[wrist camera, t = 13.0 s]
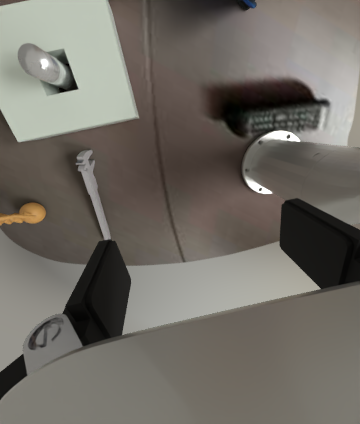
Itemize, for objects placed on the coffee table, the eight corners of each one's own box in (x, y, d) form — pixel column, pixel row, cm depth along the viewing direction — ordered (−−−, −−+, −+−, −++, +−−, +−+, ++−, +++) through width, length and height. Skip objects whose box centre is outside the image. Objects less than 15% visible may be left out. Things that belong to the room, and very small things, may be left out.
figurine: (22, 220, 38) (-33, 257, 27) (7, 192, 35) (-60, 221, 24) (63, 215, 38) (26, 250, 27) (52, 187, 36) (6, 213, 25)
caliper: (86, 149, 34) (72, 154, 28) (92, 149, 34) (79, 153, 28) (107, 242, 42) (99, 260, 37) (112, 242, 43) (105, 259, 37)
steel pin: (77, 67, 29) (39, 40, 20) (85, 90, 30) (53, 74, 21) (58, 71, 28) (11, 46, 19) (67, 94, 30) (27, 80, 21)
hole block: (111, 10, 26) (101, -15, 22) (139, 118, 32) (136, 117, 28) (-14, 35, 26) (-51, 16, 21) (37, 139, 32) (18, 142, 28)
